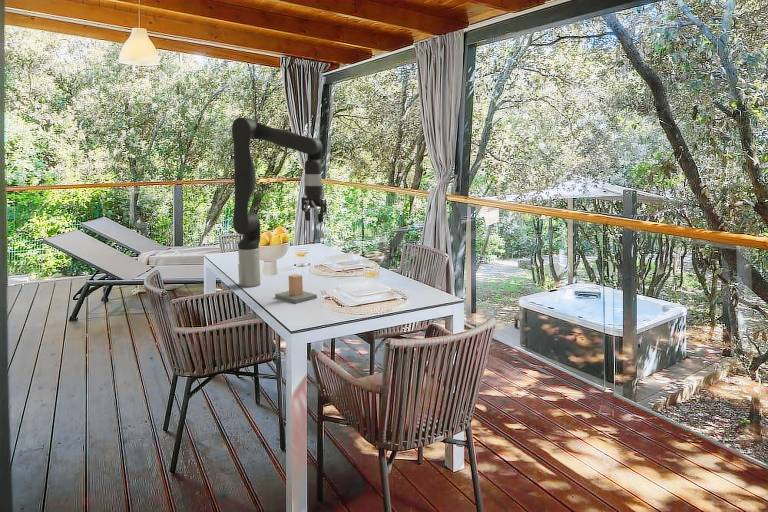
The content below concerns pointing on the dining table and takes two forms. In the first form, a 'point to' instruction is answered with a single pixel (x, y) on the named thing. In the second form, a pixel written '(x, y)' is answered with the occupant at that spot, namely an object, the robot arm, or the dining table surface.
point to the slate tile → (296, 297)
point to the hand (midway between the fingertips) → (314, 221)
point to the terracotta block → (295, 285)
